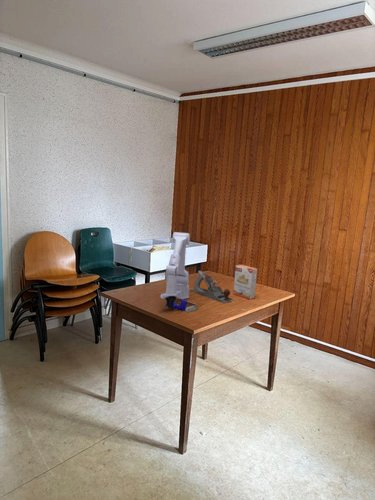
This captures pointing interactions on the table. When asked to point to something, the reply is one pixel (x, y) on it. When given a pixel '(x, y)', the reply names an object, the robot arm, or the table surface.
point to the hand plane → (211, 289)
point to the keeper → (190, 305)
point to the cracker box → (245, 281)
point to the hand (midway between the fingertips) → (169, 308)
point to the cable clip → (179, 307)
